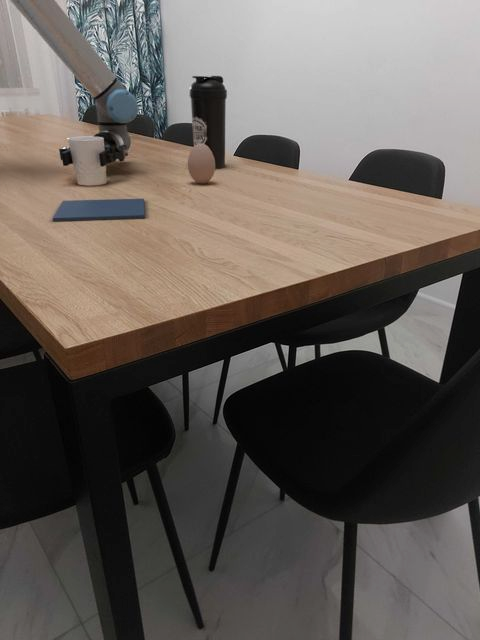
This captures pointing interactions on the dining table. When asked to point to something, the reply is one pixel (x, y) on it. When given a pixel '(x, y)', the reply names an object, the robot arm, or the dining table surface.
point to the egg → (201, 163)
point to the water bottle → (209, 115)
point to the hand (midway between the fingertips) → (82, 159)
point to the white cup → (88, 160)
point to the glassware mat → (100, 209)
